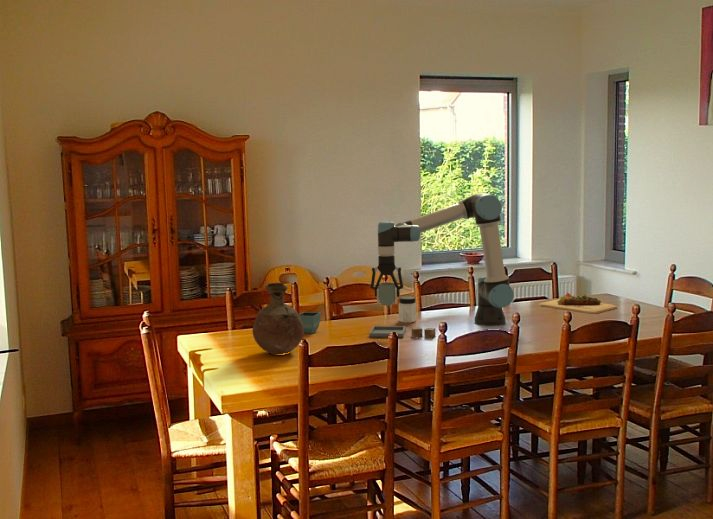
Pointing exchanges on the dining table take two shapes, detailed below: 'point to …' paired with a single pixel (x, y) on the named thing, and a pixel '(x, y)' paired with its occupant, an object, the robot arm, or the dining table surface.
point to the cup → (387, 293)
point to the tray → (386, 331)
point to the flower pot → (310, 321)
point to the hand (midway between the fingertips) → (387, 303)
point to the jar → (407, 309)
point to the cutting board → (579, 304)
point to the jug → (277, 323)
